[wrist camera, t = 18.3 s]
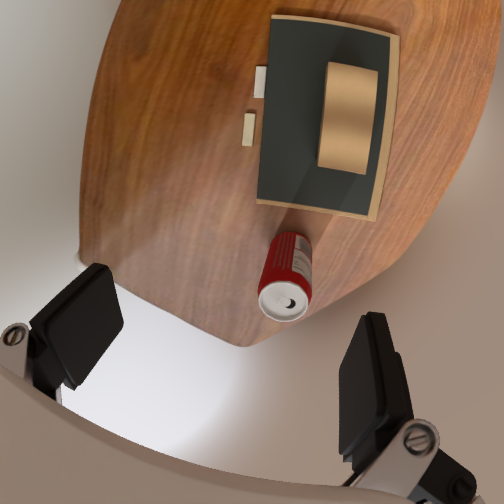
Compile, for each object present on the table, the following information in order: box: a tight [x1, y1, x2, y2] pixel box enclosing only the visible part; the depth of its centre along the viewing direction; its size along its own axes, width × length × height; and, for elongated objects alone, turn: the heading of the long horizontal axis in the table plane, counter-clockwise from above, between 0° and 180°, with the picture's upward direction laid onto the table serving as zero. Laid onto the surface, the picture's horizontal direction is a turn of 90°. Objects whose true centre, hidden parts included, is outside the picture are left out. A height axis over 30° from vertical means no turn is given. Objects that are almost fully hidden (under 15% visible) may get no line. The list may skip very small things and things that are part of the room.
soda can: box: [258, 232, 312, 322], centre depth 32 cm, size 6×6×12 cm
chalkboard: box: [257, 15, 399, 222], centre depth 28 cm, size 24×15×1 cm, turn 177°
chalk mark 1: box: [242, 113, 256, 146], centre depth 31 cm, size 4×1×1 cm, turn 176°
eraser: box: [316, 62, 378, 175], centre depth 25 cm, size 11×5×4 cm, turn 177°
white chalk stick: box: [254, 66, 267, 98], centre depth 28 cm, size 4×1×1 cm, turn 177°
